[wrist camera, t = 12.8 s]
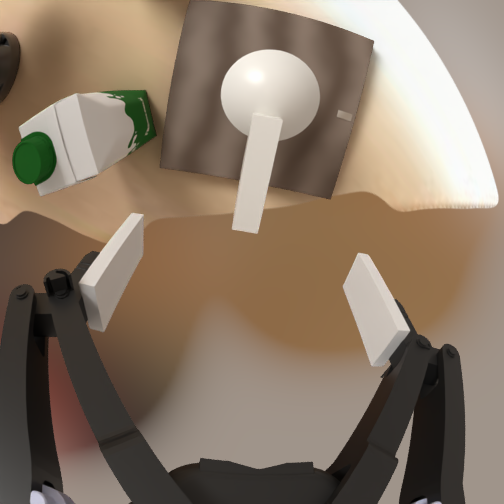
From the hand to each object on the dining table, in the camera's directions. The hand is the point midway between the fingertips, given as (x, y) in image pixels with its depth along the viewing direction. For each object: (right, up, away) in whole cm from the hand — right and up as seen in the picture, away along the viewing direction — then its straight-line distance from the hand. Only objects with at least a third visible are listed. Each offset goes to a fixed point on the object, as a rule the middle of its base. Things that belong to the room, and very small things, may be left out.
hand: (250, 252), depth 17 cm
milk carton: (-17, +19, +18) cm, 31 cm away
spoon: (+1, +12, +11) cm, 17 cm away
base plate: (+2, +20, +16) cm, 26 cm away
